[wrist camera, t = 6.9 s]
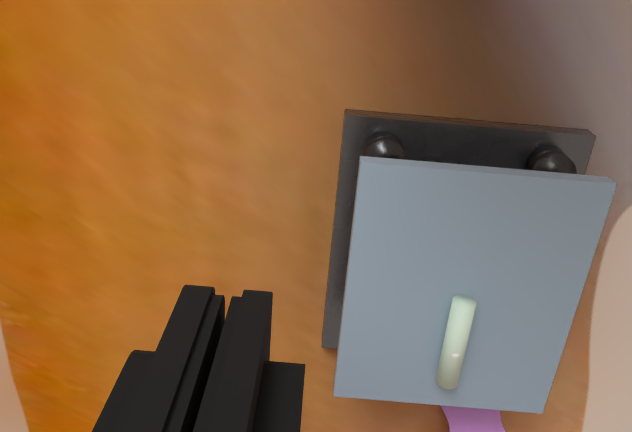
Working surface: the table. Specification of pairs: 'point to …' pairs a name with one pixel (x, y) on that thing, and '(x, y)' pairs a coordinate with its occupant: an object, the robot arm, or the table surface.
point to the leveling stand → (444, 147)
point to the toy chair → (473, 419)
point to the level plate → (464, 281)
